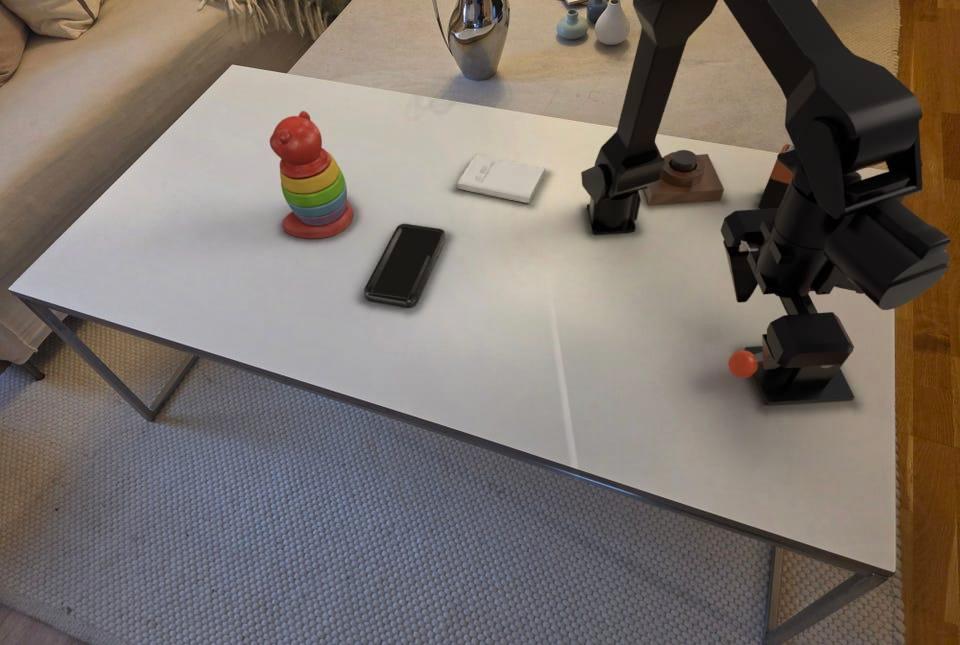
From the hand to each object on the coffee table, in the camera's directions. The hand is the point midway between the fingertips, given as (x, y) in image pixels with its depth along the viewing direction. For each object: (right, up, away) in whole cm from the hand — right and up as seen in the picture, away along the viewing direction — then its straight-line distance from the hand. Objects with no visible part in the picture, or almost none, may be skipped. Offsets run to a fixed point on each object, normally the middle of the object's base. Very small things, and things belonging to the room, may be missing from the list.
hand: (754, 333), depth 64 cm
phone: (-41, +9, +22) cm, 47 cm away
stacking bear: (-55, +18, +30) cm, 65 cm away
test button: (+1, +25, +27) cm, 37 cm away
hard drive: (-26, +24, +33) cm, 49 cm away
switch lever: (+5, -3, +4) cm, 7 cm away
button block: (+2, +23, +30) cm, 38 cm away
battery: (+16, +19, +25) cm, 35 cm away
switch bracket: (+8, -5, +7) cm, 12 cm away
